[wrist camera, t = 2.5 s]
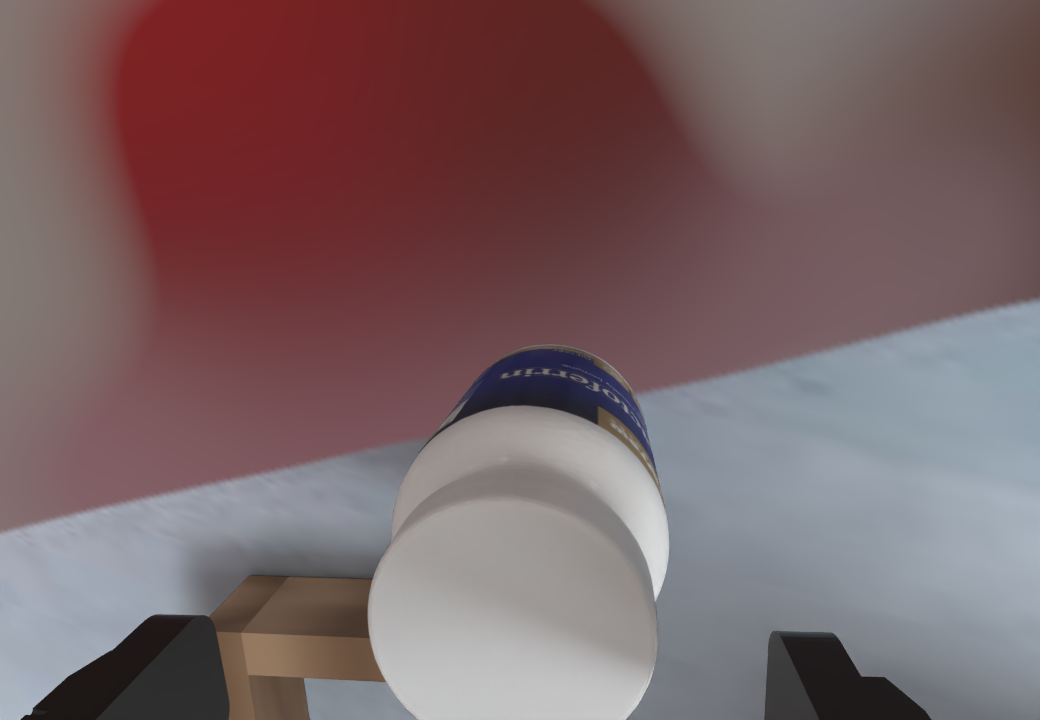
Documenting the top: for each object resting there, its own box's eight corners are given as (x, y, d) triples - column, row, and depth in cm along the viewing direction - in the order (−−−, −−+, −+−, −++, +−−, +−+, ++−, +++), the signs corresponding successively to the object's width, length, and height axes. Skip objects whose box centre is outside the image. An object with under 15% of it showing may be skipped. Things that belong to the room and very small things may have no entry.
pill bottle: (676, 387, 18) (768, 574, 9) (595, 539, 20) (596, 845, 10) (503, 308, 18) (404, 407, 9) (435, 466, 20) (285, 699, 10)
